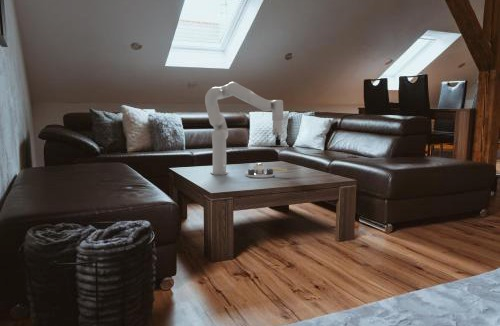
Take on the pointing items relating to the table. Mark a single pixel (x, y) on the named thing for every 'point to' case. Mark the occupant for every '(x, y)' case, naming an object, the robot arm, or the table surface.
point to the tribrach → (258, 172)
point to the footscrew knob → (270, 171)
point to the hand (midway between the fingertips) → (278, 145)
